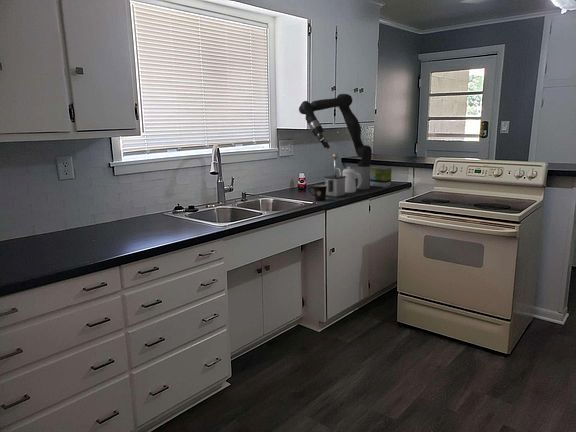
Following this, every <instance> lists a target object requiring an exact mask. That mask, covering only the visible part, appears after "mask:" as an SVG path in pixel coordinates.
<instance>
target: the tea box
mask: <svg viewBox="0 0 576 432" xmlns="http://www.w3.org/2000/svg"><path fill="white" fill-rule="evenodd" d="M392 171H393V170H392V167H386V166H385V167H384V166H383V167H382V166H372V167H370V187H371V186H373V187H380V188H381V187H382V188H387V187H391V186H392Z"/></svg>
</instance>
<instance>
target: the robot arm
mask: <svg viewBox="0 0 576 432" xmlns="http://www.w3.org/2000/svg"><path fill="white" fill-rule="evenodd" d="M352 104H353V98H352V96H351V95H350V94H348V93H340V94H338V95H337V96H336V97H334V98H325V99H316V100H314V101H312V102H310V101H307V100H304V101H302V102H301V104H300V106H299V107H298V112H299V113H300V114H301V115H305V121H306V123H307V125H308V126H309V129H310V131H311V133H312V134H313V136H314V137H316V138H317V139H318V141H319V143H320V144H321V145H322V146H323V149H330V148H331V147H330V144H329V143H328V142H329V141H328V140H327V137H326V136H325V135H324V134H323V133H324V132H325V130H324V128H323V126H322V125H321V123H320V121H319V120H318V118H317V116H316V115H315V112H316V111H322V110H327V109H332V108H338V109H339V110H340V113H341V115H342V116H343V120H344V122H345V124H346V127H347V129H348V130H347V131H348V133H349V135H350V138H351V140H352V143H353V146H354V147H353V148H354V150H355V153H356V155H357V156H358V157H359V158H361V160H360V161H359V162H357V173H359V174H360V175H361V177H362V183H361V185H360V184H359V177H360V175H359V174H358V175H359V177H358V175H357V185H358V184H359V185H360V186H359V187H358V188H357V189H359V190H369V189H370V188H371V186H370V168H371V164H372V155H373V150H372V147H371V146H370V145H367V144H366V145H365V144H364V142H363V140H362V138H361V137H362V127H361V125H360V122H359V120H358V118H357V116H356V115H355V114H354V112H353V111H352V109H351V107H350V106H351V105H352ZM360 182H361V178H360Z"/></svg>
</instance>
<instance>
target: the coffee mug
mask: <svg viewBox="0 0 576 432" xmlns="http://www.w3.org/2000/svg"><path fill="white" fill-rule="evenodd" d="M326 188H327V185H325V184H314V185H313V186H310V187H309V188H308V192H309V193H310V194H311V195H312V196H313V197H314V198H315V201H316V202H325V201H326V198H327V197H326ZM310 189H313V192H314V193H313V192H311V190H310Z"/></svg>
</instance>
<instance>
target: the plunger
mask: <svg viewBox="0 0 576 432" xmlns="http://www.w3.org/2000/svg"><path fill="white" fill-rule="evenodd" d="M338 158H339V154H338V153H332V159H333V175H334V177H336V175H337V169H336V168H337V159H338Z"/></svg>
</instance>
